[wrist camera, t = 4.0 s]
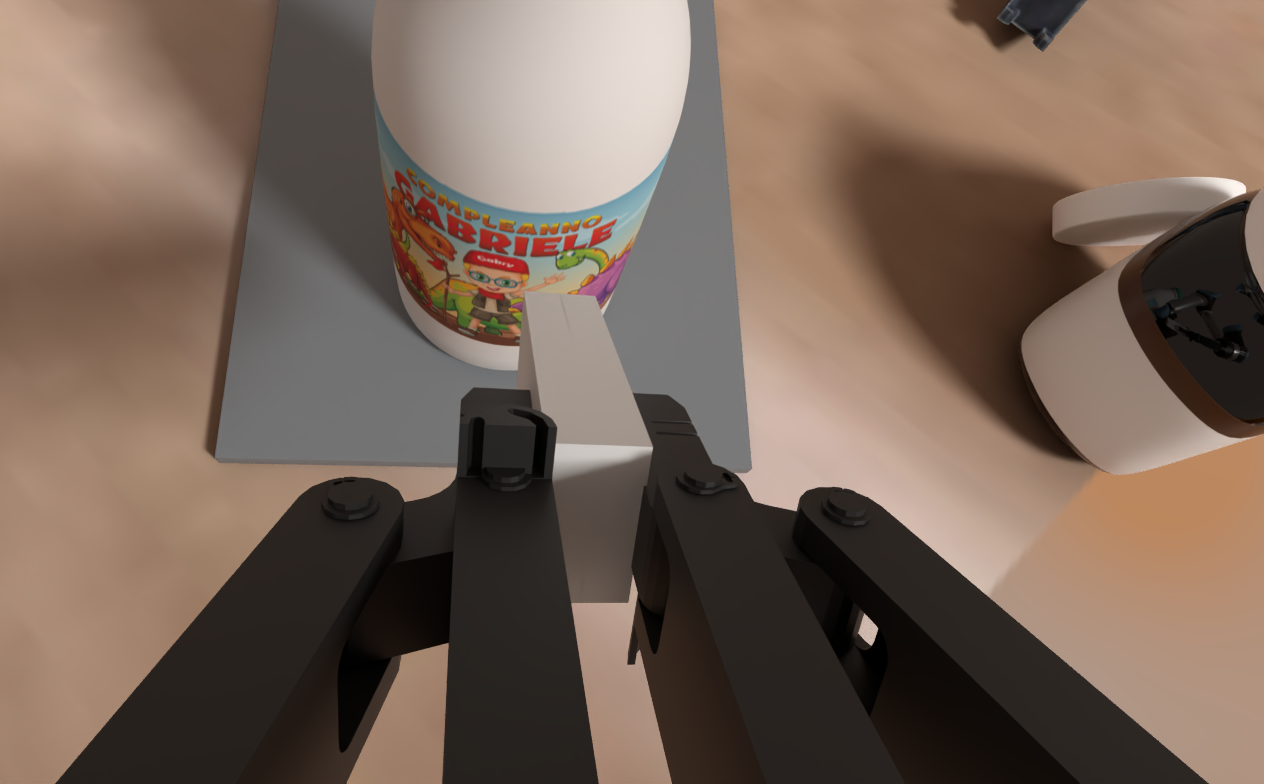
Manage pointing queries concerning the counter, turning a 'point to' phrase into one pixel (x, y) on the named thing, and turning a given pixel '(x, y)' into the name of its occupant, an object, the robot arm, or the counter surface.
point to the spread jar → (1156, 325)
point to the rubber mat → (368, 289)
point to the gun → (1040, 17)
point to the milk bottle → (519, 152)
